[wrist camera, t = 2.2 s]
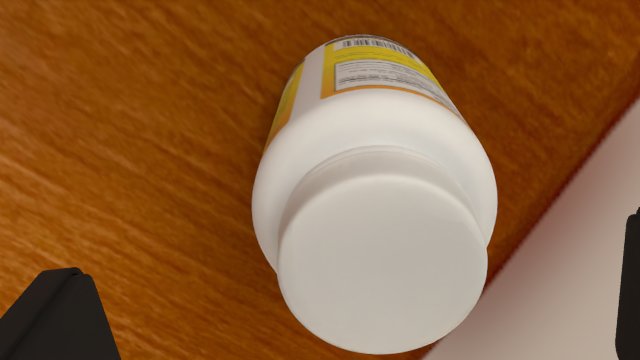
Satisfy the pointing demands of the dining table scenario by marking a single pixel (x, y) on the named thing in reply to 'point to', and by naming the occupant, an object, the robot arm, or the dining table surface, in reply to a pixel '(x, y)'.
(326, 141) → the supplement bottle
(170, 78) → the dining table surface
